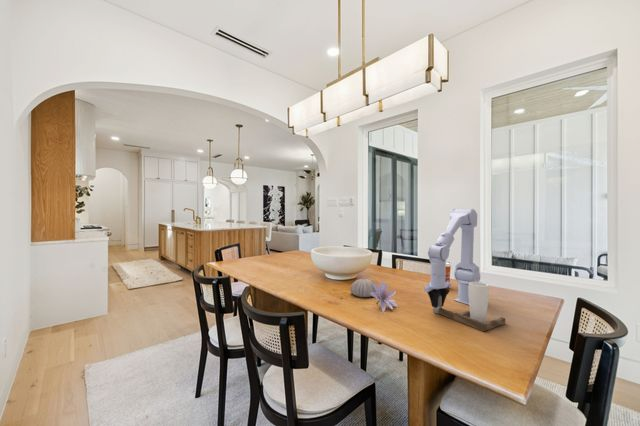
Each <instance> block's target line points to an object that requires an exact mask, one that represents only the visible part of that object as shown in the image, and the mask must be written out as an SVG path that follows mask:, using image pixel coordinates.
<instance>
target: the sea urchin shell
mask: <svg viewBox="0 0 640 426" xmlns="http://www.w3.org/2000/svg"><path fill="white" fill-rule="evenodd" d="M374 283H375V282H373V281H372V280H370V279H367V278H359V279H356V280H355V281H354V282H352V284H351V285H350V289H349V291H350V293H351V294H352V295H354V296H356V297H358V298H359V297H360V298H370V297H373V296H372V295H371V294H370V292H376V290H375V287H374ZM376 293H377V292H376Z"/></svg>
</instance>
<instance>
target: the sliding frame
mask: <svg viewBox="0 0 640 426" xmlns="http://www.w3.org/2000/svg"><path fill="white" fill-rule="evenodd" d="M442 307H443V306H442V296H441V295H439V299H438V306H437V308H435V307H433V309H432V311H433V313H434V314H437V315H441V316H444V317H447V318H449V319H452V320H454V321H456V322H458V323H459V322H460V323H462V324H464V325H466V326H469V327H472V328H474V329H477V330H480V331H481V332H484V333H485V332H487V331H488V330H491V329H493V328H497V327H500V326H502V325H506V318H505V317H502V316H501V317H499V318H495V319H493V320H490V321H486V323H483V322H480V321H477V320H475V319H472V318H470V309H469V310H465V311H462V312H459V313H458V312H452V311H450V310H447V309H445V308H442Z"/></svg>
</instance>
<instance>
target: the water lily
mask: <svg viewBox="0 0 640 426" xmlns="http://www.w3.org/2000/svg"><path fill="white" fill-rule="evenodd" d="M373 283H374V287H375V290H376V292H370V294H371V295H372V296H371V297H373V298H375V299H377V301H376V303H375V304H376V305H378V304H379V305H380V309H381V311H382V312H385V311H386V306H387V307H388V308H389V309H391V310H393V309H394V308H393V307H397V308H398V307H399V306H398V304H397V303H396V302H395V299H393V298H391V297H393V296H394V295H395V294H396V290H389V291H388V287H389V286H388V283H387V282H386V283H384V281H382V280H381V281H380V285H379V286H378V284H377V283H375V282H373ZM387 291H388V292H387Z"/></svg>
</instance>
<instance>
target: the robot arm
mask: <svg viewBox="0 0 640 426" xmlns="http://www.w3.org/2000/svg"><path fill="white" fill-rule="evenodd" d="M477 225H478V213H477V211H476V209H474V208H470V209H466V208H465V209H463V208H462V209H461V208H460V209H459V208H457V209H456V208H453V209H452V210H451V211H450V213H449V222H448V224H447V227H446V230H444V232H441V233H440V234H439V236H438V238H437V240H436V241H435V243H434V244H432V245H431V246H430V247H429V248H428V251H427V255H428V258H429V263H430V281H429V282H428V284H427V285H424V286H423V291H424V292H426V293H427V295H428V297H429V299H430V303H431V307H435V308H437V306H438V299H439V295H441V296H442V307H444V305H445V301H446V299H447V296H448V295H449V293H450V288H452V282H445V276H446V262H447V260H448V258H449V255H450V250H451V249H450V247H451V246H452V244H453V243H454V241H455V237H454V235H455V234H456V232H457V231H458V229H459V228H460V229H461V247H460V248H461V251H460V261H459V262H458V263H456V264H455V267H454V271H453V276H454V279H455V280H456V282H457V283H458V284H457V285H458V286H457V298H454V299H453V300H454V301H456V302H459V303H462V304H465V305H468V306H469V295H468V287H469V282H480V280H481V273H480V267H479V266H478V265H477V264H476V263H474V262H473V261H474V239H475V238H474V235H475V233H474V231H475V228H476V227H477ZM447 287H449V289H446V288H447Z"/></svg>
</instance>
